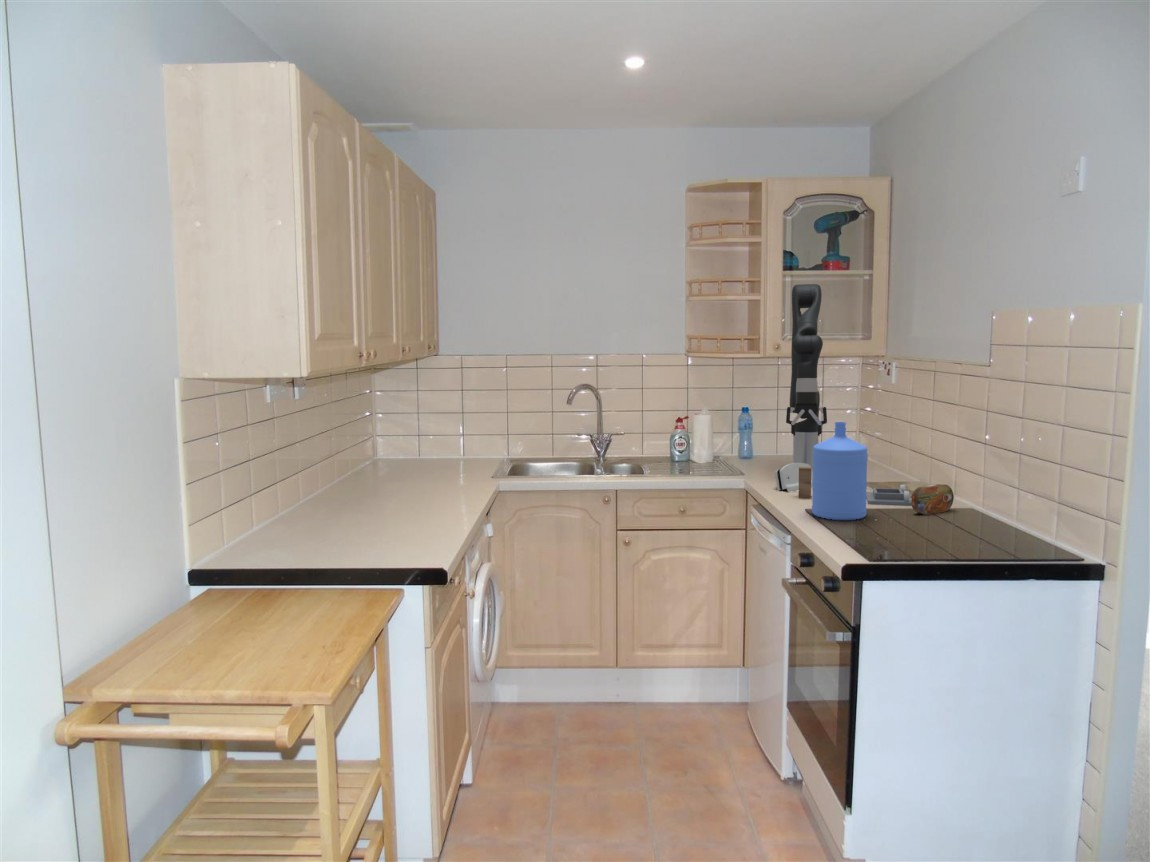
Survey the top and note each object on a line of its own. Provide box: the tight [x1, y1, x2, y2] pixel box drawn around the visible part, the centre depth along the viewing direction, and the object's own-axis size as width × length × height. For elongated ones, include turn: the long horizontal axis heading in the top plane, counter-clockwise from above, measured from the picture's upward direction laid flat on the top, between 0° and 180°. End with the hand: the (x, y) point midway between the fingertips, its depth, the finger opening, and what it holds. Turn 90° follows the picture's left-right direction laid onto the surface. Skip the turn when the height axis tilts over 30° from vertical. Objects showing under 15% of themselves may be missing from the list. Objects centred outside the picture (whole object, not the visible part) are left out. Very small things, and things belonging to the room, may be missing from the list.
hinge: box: [774, 462, 813, 493], centre depth 284 cm, size 17×5×10 cm, turn 124°
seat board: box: [866, 484, 912, 507], centre depth 261 cm, size 15×13×4 cm
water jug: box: [811, 421, 869, 521], centre depth 240 cm, size 16×16×28 cm
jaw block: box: [798, 467, 812, 499], centre depth 268 cm, size 4×4×10 cm
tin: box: [910, 483, 955, 516], centre depth 243 cm, size 15×3×8 cm, turn 114°
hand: (806, 435), depth 292 cm, fingers open, 8 cm apart
